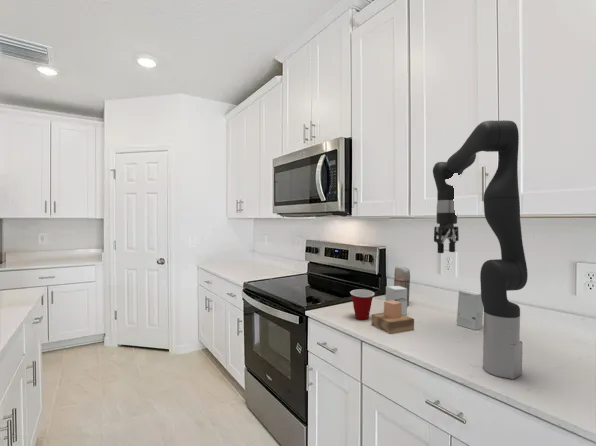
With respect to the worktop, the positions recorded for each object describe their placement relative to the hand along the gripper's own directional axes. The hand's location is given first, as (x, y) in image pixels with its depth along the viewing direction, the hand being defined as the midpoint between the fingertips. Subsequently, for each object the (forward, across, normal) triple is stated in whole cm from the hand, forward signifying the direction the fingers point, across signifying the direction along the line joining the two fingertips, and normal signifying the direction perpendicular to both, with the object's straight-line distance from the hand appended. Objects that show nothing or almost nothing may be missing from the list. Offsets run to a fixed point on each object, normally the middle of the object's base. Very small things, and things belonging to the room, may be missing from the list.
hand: (446, 252), depth 133 cm
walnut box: (+32, -13, +16) cm, 38 cm away
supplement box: (+32, +5, +28) cm, 42 cm away
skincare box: (+32, +15, -2) cm, 35 cm away
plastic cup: (+32, -14, +32) cm, 47 cm away
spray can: (+32, +21, +36) cm, 53 cm away
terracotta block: (+27, -13, +16) cm, 34 cm away
